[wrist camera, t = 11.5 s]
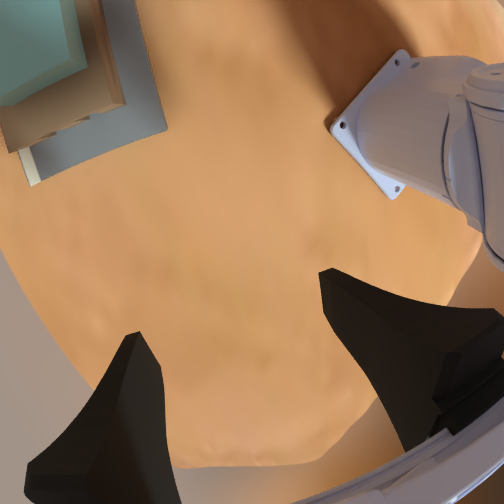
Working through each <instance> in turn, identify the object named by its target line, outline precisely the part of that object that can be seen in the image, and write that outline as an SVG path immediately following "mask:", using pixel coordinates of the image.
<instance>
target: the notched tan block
mask: <svg viewBox="0 0 504 504" xmlns="http://www.w3.org/2000/svg"><path fill="white" fill-rule="evenodd" d="M74 3H75V8H76V14H77V19H78V24H79V29H80V34H81V38H82V43H83V48H84V52H85V56H86V60H87V65H88V67H87V68H85V69H83V70H80V71H78V72H76V73H74V74H72V75H69V76H67V77H65V78H63V79H61V80H59V81H57V82H55V83H53V84H51V85H49V86H47V87H45V88H43V89H41V90H40V91H38V92H36V93H34V94H32V95H30V96H29V97H27V98H25V99H23V100H22V101H20V102H18V103H17V104H15V105H13V106H0V124H1V128H2V132H3V135H4V139H5V142H6V146H7V149H8V152H9V153H12V152H15V151H18V150H21V149H23V148H26V147H29V146H32V145H36V144H39V143H41V142H43V141H45V140H47V139H49V138H51V137H53V136H55V135H57V133H56V131H59V130H63V129H68V128H72V127H74V126H76V125H79V124H81V123H83V122H86V121H88V120H90V116H89V115H90V114H92V113H107V112H110V111H112V110H115V109H117V108H120V107H123V106H125V105H127V104H126V100H125V96H124V93H123V89H122V85H121V82H120V78H119V74H118V70H117V66H116V62H115V58H114V54H113V50H112V46H111V42H110V38H109V33H108V29H107V24H106V20H105V15H104V10H103V6H102V1H101V0H74Z"/></svg>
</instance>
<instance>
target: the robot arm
mask: <svg viewBox="0 0 504 504" xmlns="http://www.w3.org/2000/svg"><path fill="white" fill-rule="evenodd" d="M395 61H396V62H397V65H396V64H395ZM341 122H343V123H344V126H343V128H341V127H340V123H341ZM330 133H331V134H332V136H333V137H334V138H335V139H336V140H337V141H338V142H339V143H340V144H341V145H342V146H343V147H344V148H345V149H346V151H347V152H348V153H349V154H350V155H351V156H352V157H353V158H354V159H355V160H356V161H357V163H358V164H359V165H360V166H361V167H362V168H363V169H364V170H365V172H366V173H367V174H368V175H369V176H370V177H371V179H372V180H373V181H374V182H375V183H376V184H377V186H378V187H379V188H380V189H381V190H382V192H383V193H384V194H385V195H386V196H387V197H388V198H389V199H391V200H393V199H395V198H396V197H397V196H398V195H399V193H400V192H401V191H402V190H403V188H404V187H405V186H406V185H407V186H409V187H411V188H414V189H416V190H418V191H420V192H423V193H425V194H427V195H429V196H431V197H434V198H436V199H438V200H440V201H442V202H444V203H446V204H448V205H450V206H452V207H454V208H456V209H458V210H460V211H462V212H463V213H464V214H465V215H466V218H467V222H468V225H469V226H471V227H472V228H474V229H476V230H478V231H479V232H481V233H483V246H484V249H485V253H486V254H487V256H488V258H489V259H490V261H491V262H492V263H493V265H495V266H496V267H497V268H498V269H499V270H500V271H502V272H504V63H496V64H490V65H487V64H485V63H484V62H482V61H480V60H478V59H475V58H472V57H468V56H432V57H416V58H411V57H410V56H409V54H408V53H407V52H406V51H405V50H404V49H400V50H397V51H396V52H395V54H394V55H393V56H392V57H391V58H390V59H389V60H388V61H387V63H386V64H385V65H384V66H383V67H382V68H381V69H380V70H379V71H378V73H377V74H376V75H375V76H374V77H373V78H372V79H371V80H370V82H369V83H368V84H367V85H366V86H365V87H364V88H363V90H362V91H361V92H360V93H359V94H358V95H357V96H356V97H355V99H354V100H353V101H352V102H351V103H350V104H349V105H348V107H347V108H346V109H345V110H344V111H343V112H342V113H341V115H340V116H339V117H338V118H337V119H336V120H335V122H334V123H333V124H332V125H331V127H330ZM396 186H397V189H396V190H395V187H396ZM319 281H320V288H321V296H322V304H323V312H324V314H325V316H326V318H327V320H328V322H329V324H330V325H331V327H332V329H333V331H334V332H335V334H336V335H337V336H338V338H339V339H340V340H341V342H342V343H343V345H344V346H345V347H346V348H347V350H348V351H349V352H350V354H351V355H352V356H353V358H354V359H355V360H356V362H357V363H358V364H359V366H360V367H361V368H362V370H363V371H364V373H365V374H366V376H367V377H368V379H369V381H370V382H371V384H372V386H373V388H374V389H375V391H376V393H377V395H378V396H379V398H380V400H381V402H382V404H383V406H384V408H385V409H386V411H387V413H388V415H389V417H390V419H391V422H392V424H393V425H394V428H395V430H396V432H397V434H398V436H399V439H400V441H401V443H402V446H403V448H404V450H405V454H403V455H401V456H399V457H397V458H396V459H394V460H392V461H390V462H388V463H386V464H384V465H382V466H380V467H379V468H376V469H374V470H372V471H370V472H368V473H366V474H364V475H362V476H360V477H358V478H355V479H353V480H351V481H349V482H346V483H344V484H342V485H339V486H337V487H334V488H332V489H330V490H327V491H324V492H322V493H320V494H317V495H314V496H311V497H308V498H306V499H303V500H300V501H297V502H294V503H291V504H454V503H455V502H457V501H458V500H459V499H461V498H462V497H464V496H465V495H466V494H468V493H469V492H470V491H471V490H473V489H474V488H475V487H476V486H478V485H479V484H480V483H481V482H483V481H484V480H485V479H486V478H488V477H489V476H490V475H491V474H492V473H493V472H495V471H496V470H497V469H498V468H499V467H500V466H501V465H502V464H503V463H504V359H503V358H501V356H502V354H503V351H504V317H503V316H502V315H501V314H500V313H498V311H496V310H495V309H493V308H490V309H489V308H487V309H486V308H485V309H484V308H483V309H481V308H479V309H478V308H476V309H475V308H457V307H447V306H441V305H435V304H429V303H425V302H420V301H416V300H413V299H409V298H405V297H402V296H399V295H396V294H393V293H390V292H388V291H385V290H382V289H380V288H377V287H375V286H372V285H370V284H368V283H365V282H363V281H361V280H359V279H356V278H354V277H352V276H350V275H348V274H346V273H343V272H341V271H339V270H337V269H334V268H330V269H327V270H325V271H322V272H319ZM390 486H391V487H390ZM388 487H389V488H388ZM386 488H387V489H386ZM384 489H385V490H384ZM382 490H383V491H382ZM24 493H25V496H26V497H27V498H28V499H29V500H30V501H31V502H33V503H35V504H182V503H181V500H180V497H179V493H178V490H177V486H176V483H175V479H174V475H173V471H172V466H171V461H170V456H169V451H168V446H167V438H166V420H165V394H164V384H163V377H162V371H161V366H160V364H159V363H158V361H157V360H156V358H155V356H154V355H153V353H152V351H151V350H150V348H149V346H148V345H147V343H146V341H145V339H144V338H143V336H142V334H141V333H140V331H139V332H135V333H132V334H129V335H126V336H125V338H124V339H123V341H122V343H121V345H120V347H119V348H118V350H117V352H116V354H115V356H114V358H113V360H112V362H111V363H110V365H109V367H108V369H107V371H106V373H105V374H104V376H103V378H102V379H101V381H100V383H99V384H98V386H97V388H96V389H95V391H94V393H93V395H92V396H91V397H90V399H89V400H88V402H87V403H86V405H85V406H84V407H83V409H82V410H81V412H80V413H79V414H78V415H77V417H76V418H75V419H74V420H73V421H72V422H71V424H70V425H69V426H68V427H67V428H66V430H65V431H64V432H63V433H62V434H61V435H60V436H59V437H58V438H57V439H56V440H55V441H54V442H53V443H52V444H51V445H50V446H49V447H47V448H46V449H45V450H44V451H43V452H42V453H40V454H39V455H38V456H37V457H36V458H34V459H33V460H32V461H30V462H29V463H28V465H27V472H26V479H25V486H24Z"/></svg>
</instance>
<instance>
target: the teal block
mask: <svg viewBox="0 0 504 504" xmlns="http://www.w3.org/2000/svg"><path fill="white" fill-rule="evenodd" d="M87 67H88V65H87V60H86V56H85V52H84V48H83V43H82V38H81V34H80V29H79V24H78V19H77V14H76V8H75V3H74V0H0V106H13V105H15V104H17V103H18V102H20V101H22V100H23V99H25V98H27V97H29V96H30V95H32V94H34V93H36V92H38V91H40V90H41V89H43V88H45V87H47V86H49V85H51V84H53V83H55V82H57V81H59V80H61V79H63V78H65V77H67V76H69V75H72V74H74V73H76V72H78V71H80V70H83V69H85V68H87Z"/></svg>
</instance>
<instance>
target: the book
mask: <svg viewBox="0 0 504 504" xmlns="http://www.w3.org/2000/svg"><path fill="white" fill-rule="evenodd" d="M101 1H102V6H103V10H104V15H105V20H106V24H107V29H108V33H109V38H110V42H111V46H112V50H113V54H114V58H115V62H116V66H117V70H118V74H119V78H120V82H121V85H122V89H123V93H124V96H125V100H126V104H127V105H125V106H123V107H120V108H117V109H115V110H112V111H110V112H107V113H92V114H90V115H89V116H90V120H88V121H86V122H83V123H81V124H79V125H76V126H74V127H72V128H68V129H63V130H59V131H56V133H57V135H55V136H53V137H51V138H49V139H47V140H45V141H43V142H41V143H39V144H36V145H32V146H29V147H26V148H23V149H21V150H18V154H19V157H20V160H21V163H22V166H23V169H24V172H25V175H26V177H27V180H28V183H29V186H30V187H31V186H33V185H35V184H37V183H39V182H41V181H43V180H45V179H47V178H49V177H51V176H53V175H55V174H57V173H59V172H62V171H64V170H66V169H68V168H70V167H73V166H75V165H77V164H79V163H82V162H84V161H86V160H89V159H91V158H93V157H96V156H98V155H101V154H103V153H106V152H108V151H111V150H113V149H116V148H118V147H121V146H124V145H126V144H129V143H132V142H135V141H137V140H140V139H143V138H146V137H149V136H152V135H155V134H158V133H161V132H164V131H167V130H168V126H167V123H166V119H165V116H164V112H163V109H162V105H161V101H160V98H159V94H158V91H157V87H156V83H155V79H154V76H153V72H152V68H151V64H150V61H149V57H148V53H147V49H146V45H145V41H144V37H143V33H142V29H141V25H140V21H139V17H138V12H137V8H136V4H135V0H101Z"/></svg>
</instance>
